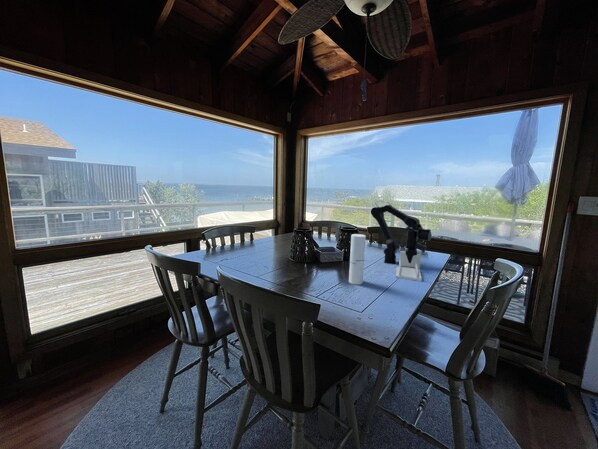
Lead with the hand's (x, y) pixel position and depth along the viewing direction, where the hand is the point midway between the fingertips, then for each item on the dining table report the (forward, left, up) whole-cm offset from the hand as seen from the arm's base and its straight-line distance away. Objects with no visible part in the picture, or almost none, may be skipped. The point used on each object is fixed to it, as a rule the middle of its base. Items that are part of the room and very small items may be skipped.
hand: (409, 262), depth 160 cm
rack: (-1, -15, -3) cm, 15 cm away
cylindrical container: (-27, -40, -3) cm, 48 cm away
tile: (0, 0, -3) cm, 3 cm away
